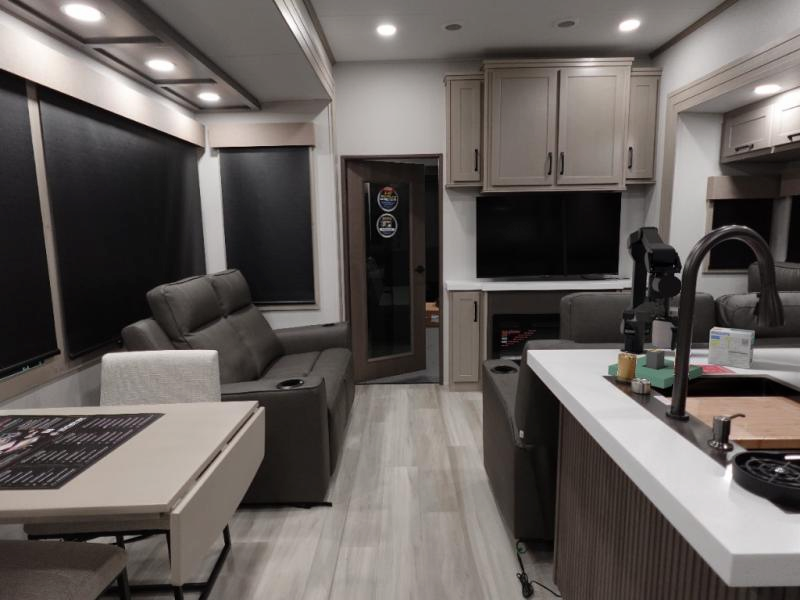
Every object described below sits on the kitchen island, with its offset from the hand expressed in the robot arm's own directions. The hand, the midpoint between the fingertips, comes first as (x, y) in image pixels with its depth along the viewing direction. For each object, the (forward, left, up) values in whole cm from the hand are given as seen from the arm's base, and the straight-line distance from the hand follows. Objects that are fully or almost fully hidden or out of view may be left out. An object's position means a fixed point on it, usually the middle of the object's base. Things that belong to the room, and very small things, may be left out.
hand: (656, 347), depth 135 cm
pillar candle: (-38, -17, -8) cm, 42 cm away
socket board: (0, 0, -8) cm, 8 cm away
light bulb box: (-29, +7, -8) cm, 31 cm away
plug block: (0, 0, -8) cm, 8 cm away
